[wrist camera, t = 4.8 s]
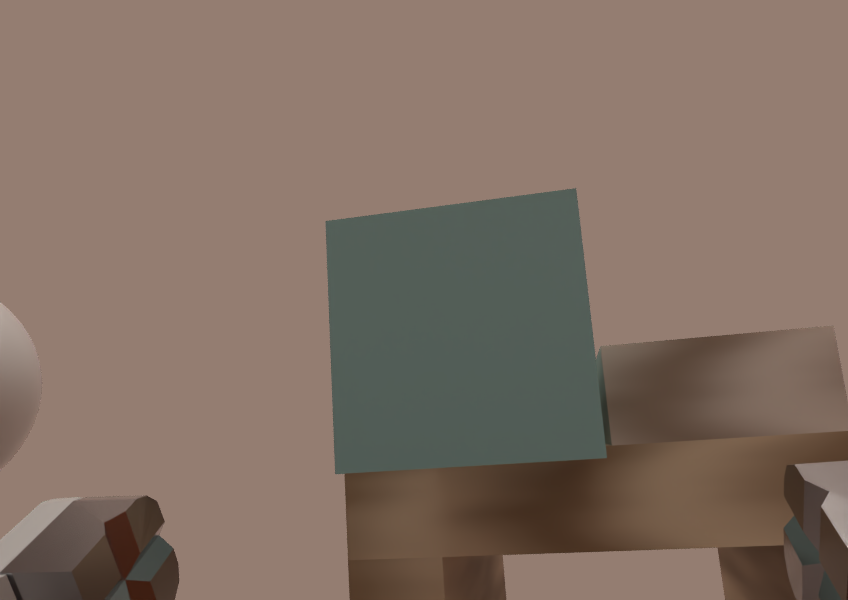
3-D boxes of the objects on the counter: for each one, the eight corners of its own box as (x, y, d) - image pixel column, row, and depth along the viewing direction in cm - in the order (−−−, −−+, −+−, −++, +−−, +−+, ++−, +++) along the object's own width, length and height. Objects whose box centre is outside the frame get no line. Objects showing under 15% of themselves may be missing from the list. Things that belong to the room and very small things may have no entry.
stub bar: (335, 474, 10) (325, 221, 11) (488, 447, 30) (480, 354, 31) (607, 457, 10) (576, 188, 11) (583, 441, 29) (573, 346, 30)
